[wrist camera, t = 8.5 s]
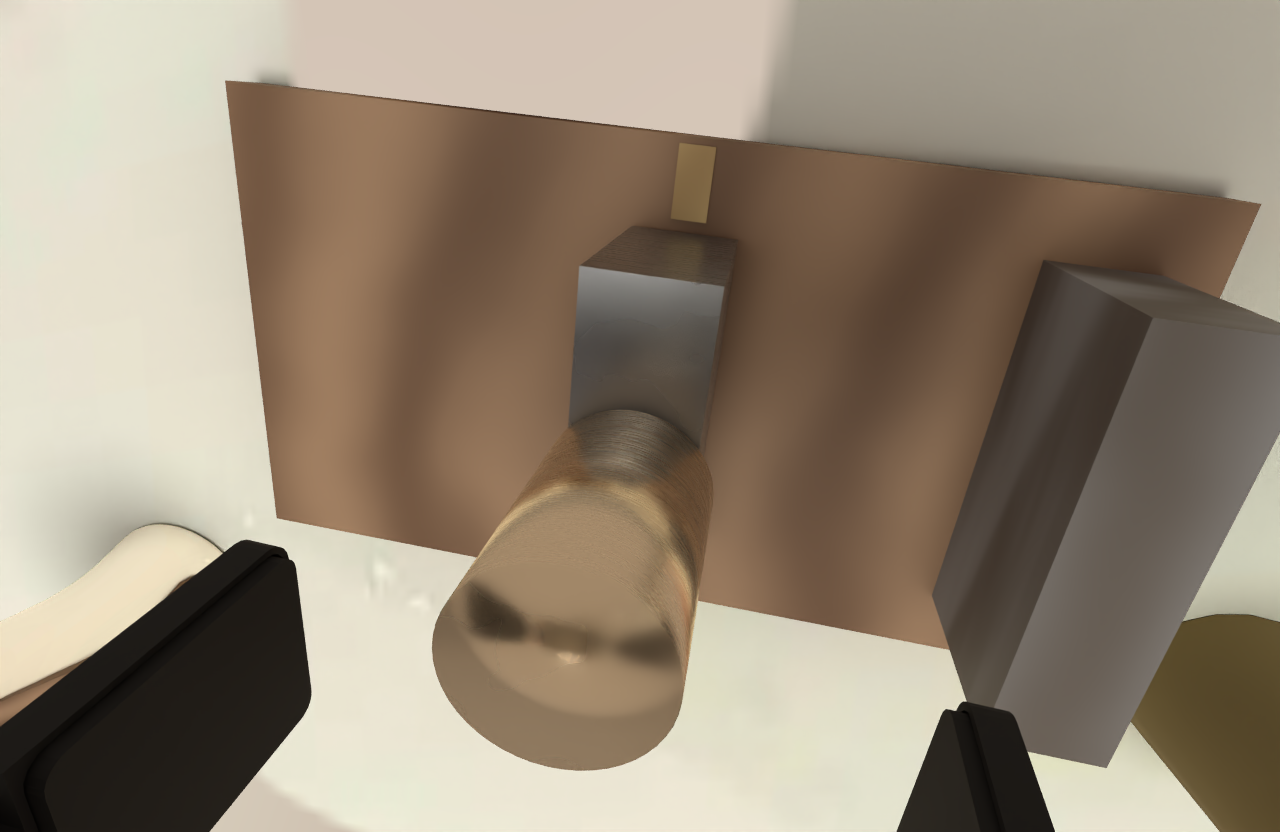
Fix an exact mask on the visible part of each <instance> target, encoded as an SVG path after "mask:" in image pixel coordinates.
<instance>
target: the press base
mask: <svg viewBox="0 0 1280 832" xmlns="http://www.w3.org/2000/svg"><path fill="white" fill-rule="evenodd" d="M225 83H226V92H227V100H228V108H229V117H230V125H231V134H232V142H233V151H234V159H235V168H236V176H237V185H238V193H239V202H240V210H241V219H242V227H243V236H244V244H245V253H246V261H247V269H248V278H249V286H250V295H251V303H252V312H253V320H254V329H255V337H256V346H257V354H258V363H259V371H260V380H261V388H262V397H263V405H264V414H265V422H266V431H267V439H268V447H269V456H270V464H271V473H272V481H273V490H274V498H275V507H276V515H277V518H279V519H284V520H289V521H294V522H299V523H304V524H309V525H314V526H320V527H325V528H330V529H335V530H340V531H345V532H350V533H355V534H360V535H366V536H371V537H376V538H381V539H386V540H391V541H396V542H401V543H406V544H412V545H417V546H422V547H427V548H432V549H437V550H442V551H447V552H452V553H457V554H463V555H468V556H473V557H478V555H479V554H480V552H481V551H482V549H483V548H484V546H485V545H486V543H487V542H488V540H489V539H490V538H491V536H492V535H493V533H494V532H495V530H496V529H497V527H498V526H499V524H500V523H501V521H502V520H503V518H504V517H505V515H506V514H507V512H508V511H509V509H510V508H511V506H512V505H513V503H514V502H515V500H516V499H517V498H518V496H519V495H520V493H521V492H522V490H523V489H524V487H525V486H526V484H527V483H528V481H529V480H530V478H531V477H532V475H533V474H534V472H535V471H536V469H537V468H538V466H539V465H540V463H541V462H542V460H543V459H544V458H545V456H546V455H547V453H548V452H549V450H550V449H551V447H552V446H553V444H554V443H555V441H556V440H557V438H558V437H559V436H560V435H561V434H562V433H563V432H564V431H565V430H566V429H567V428H568V421H569V406H570V392H571V378H572V364H573V350H574V336H575V321H576V307H577V293H578V279H579V266H580V265H581V264H582V263H584V262H585V261H586V260H588V259H589V258H590V257H592V256H593V255H594V254H596V253H597V252H598V251H600V250H601V249H602V248H603V247H605V246H606V245H607V244H609V243H610V242H611V241H613V240H614V239H615V238H617V237H618V236H619V235H621V234H622V233H623V232H624V231H626V230H627V229H628V228H630V227H631V226H639V227H647V228H654V229H661V230H669V231H676V232H684V233H691V234H698V235H706V236H713V237H721V238H728V239H735V240H738V244H737V250H736V257H735V263H734V269H733V275H732V282H731V288H730V294H729V301H728V307H727V313H726V320H725V326H724V332H723V339H722V345H721V351H720V358H719V364H718V370H717V377H716V383H715V389H714V395H713V402H712V408H711V414H710V421H709V427H708V433H707V440H706V446H705V452H704V459H705V461H706V463H707V465H708V467H709V470H710V473H711V476H712V481H713V489H714V499H713V508H712V514H711V521H710V527H709V533H708V540H707V546H706V552H705V559H704V565H703V572H702V578H701V584H700V591H699V597H698V601H703V602H708V603H713V604H718V605H723V606H728V607H733V608H739V609H744V610H749V611H754V612H759V613H764V614H769V615H774V616H779V617H785V618H790V619H795V620H800V621H805V622H810V623H815V624H820V625H825V626H831V627H836V628H841V629H846V630H851V631H856V632H861V633H866V634H871V635H877V636H882V637H887V638H892V639H897V640H902V641H907V642H912V643H917V644H923V645H928V646H933V647H938V648H943V649H948V650H950V652H951V655H952V658H953V661H954V664H955V667H956V670H957V673H958V676H959V679H960V682H961V685H962V688H963V691H964V694H965V697H966V700H967V702H970V703H975V704H979V705H983V706H988V707H992V708H997V709H1001V710H1006V711H1010V712H1011V713H1012V714H1013V715H1014V717H1015V719H1016V721H1017V723H1018V726H1019V729H1020V732H1021V735H1022V738H1023V741H1024V744H1025V746H1026V749H1027V751H1028V752H1032V753H1037V754H1042V755H1047V756H1051V757H1056V758H1061V759H1066V760H1071V761H1075V762H1080V763H1085V764H1090V765H1095V766H1099V767H1104V768H1107V766H1108V764H1109V762H1110V760H1111V758H1112V756H1113V754H1114V752H1115V751H1116V749H1117V747H1118V745H1119V743H1120V741H1121V739H1122V737H1123V735H1124V733H1125V731H1126V729H1127V727H1128V725H1129V723H1130V722H1131V720H1132V718H1133V716H1134V714H1135V712H1136V710H1137V708H1138V706H1139V704H1140V702H1141V700H1142V698H1143V696H1144V694H1145V692H1146V691H1147V689H1148V687H1149V685H1150V683H1151V681H1152V679H1153V677H1154V675H1155V673H1156V671H1157V669H1158V667H1159V665H1160V663H1161V662H1162V660H1163V658H1164V656H1165V654H1166V652H1167V650H1168V648H1169V646H1170V644H1171V642H1172V640H1173V638H1174V636H1175V634H1176V633H1177V631H1178V629H1179V627H1180V625H1181V623H1182V621H1183V619H1184V617H1185V615H1186V613H1187V611H1188V609H1189V607H1190V605H1191V604H1192V602H1193V600H1194V598H1195V596H1196V594H1197V592H1198V590H1199V588H1200V586H1201V584H1202V582H1203V580H1204V578H1205V576H1206V574H1207V573H1208V571H1209V569H1210V567H1211V565H1212V563H1213V561H1214V559H1215V557H1216V555H1217V553H1218V551H1219V549H1220V547H1221V545H1222V544H1223V542H1224V540H1225V538H1226V536H1227V534H1228V532H1229V530H1230V528H1231V526H1232V524H1233V522H1234V520H1235V518H1236V516H1237V515H1238V513H1239V511H1240V509H1241V507H1242V505H1243V503H1244V501H1245V499H1246V497H1247V495H1248V493H1249V491H1250V489H1251V487H1252V485H1253V484H1254V482H1255V480H1256V478H1257V476H1258V474H1259V472H1260V470H1261V468H1262V466H1263V464H1264V462H1265V460H1266V458H1267V456H1268V455H1269V453H1270V451H1271V449H1272V447H1273V445H1274V443H1275V441H1276V439H1277V437H1278V435H1279V433H1280V323H1279V322H1276V321H1274V320H1272V319H1269V318H1267V317H1264V316H1262V315H1259V314H1257V313H1254V312H1252V311H1249V310H1247V309H1244V308H1242V307H1239V306H1237V305H1235V304H1232V303H1230V302H1227V301H1225V300H1222V299H1220V296H1221V294H1222V292H1223V289H1224V287H1225V285H1226V283H1227V280H1228V278H1229V276H1230V274H1231V271H1232V269H1233V267H1234V265H1235V262H1236V260H1237V258H1238V255H1239V253H1240V251H1241V249H1242V246H1243V244H1244V242H1245V240H1246V237H1247V235H1248V233H1249V231H1250V228H1251V226H1252V224H1253V222H1254V219H1255V217H1256V215H1257V212H1258V210H1259V208H1260V206H1261V204H1257V203H1252V202H1246V201H1240V200H1235V199H1229V198H1222V197H1214V196H1206V195H1197V194H1189V193H1180V192H1172V191H1163V190H1155V189H1147V188H1138V187H1130V186H1121V185H1113V184H1105V183H1096V182H1088V181H1079V180H1071V179H1063V178H1054V177H1046V176H1037V175H1029V174H1021V173H1012V172H1004V171H995V170H987V169H979V168H970V167H962V166H953V165H945V164H937V163H928V162H920V161H911V160H903V159H895V158H886V157H878V156H869V155H861V154H853V153H844V152H836V151H827V150H819V149H811V148H802V147H794V146H785V145H777V144H769V143H760V142H752V141H743V140H735V139H727V138H718V137H710V136H701V135H693V134H685V133H676V132H668V131H659V130H651V129H643V128H634V127H625V126H617V125H609V124H600V123H592V122H584V121H575V120H567V119H559V118H549V117H542V116H533V115H525V114H517V113H508V112H500V111H491V110H483V109H474V108H466V107H457V106H449V105H441V104H432V103H424V102H416V101H407V100H399V99H391V98H382V97H373V96H365V95H357V94H349V93H340V92H332V91H322V90H315V89H307V88H298V87H290V86H281V85H273V84H265V83H254V82H239V81H225Z"/></svg>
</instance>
